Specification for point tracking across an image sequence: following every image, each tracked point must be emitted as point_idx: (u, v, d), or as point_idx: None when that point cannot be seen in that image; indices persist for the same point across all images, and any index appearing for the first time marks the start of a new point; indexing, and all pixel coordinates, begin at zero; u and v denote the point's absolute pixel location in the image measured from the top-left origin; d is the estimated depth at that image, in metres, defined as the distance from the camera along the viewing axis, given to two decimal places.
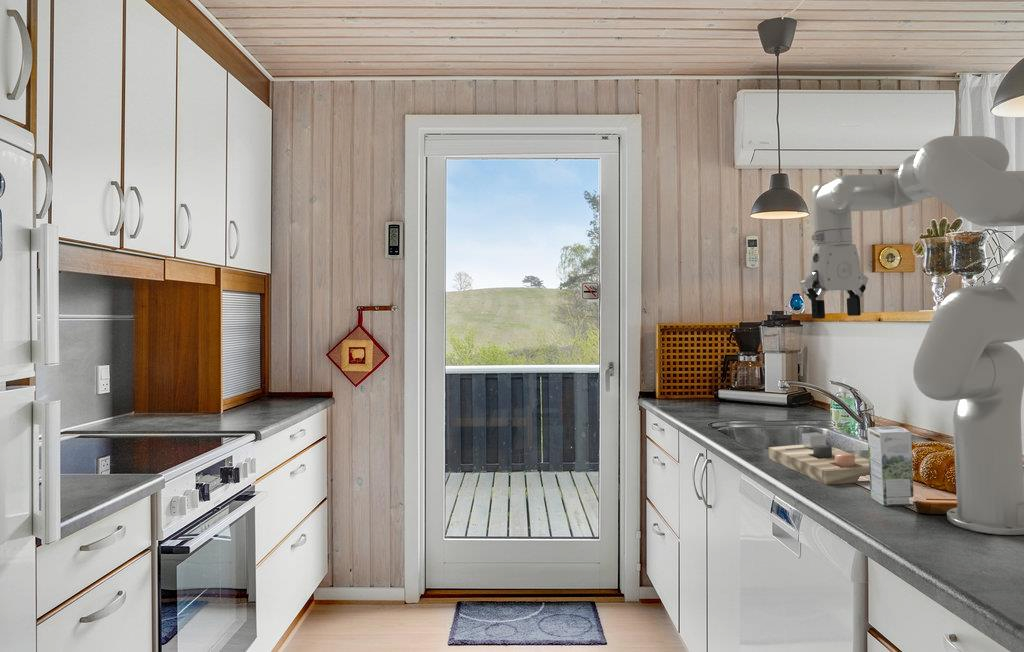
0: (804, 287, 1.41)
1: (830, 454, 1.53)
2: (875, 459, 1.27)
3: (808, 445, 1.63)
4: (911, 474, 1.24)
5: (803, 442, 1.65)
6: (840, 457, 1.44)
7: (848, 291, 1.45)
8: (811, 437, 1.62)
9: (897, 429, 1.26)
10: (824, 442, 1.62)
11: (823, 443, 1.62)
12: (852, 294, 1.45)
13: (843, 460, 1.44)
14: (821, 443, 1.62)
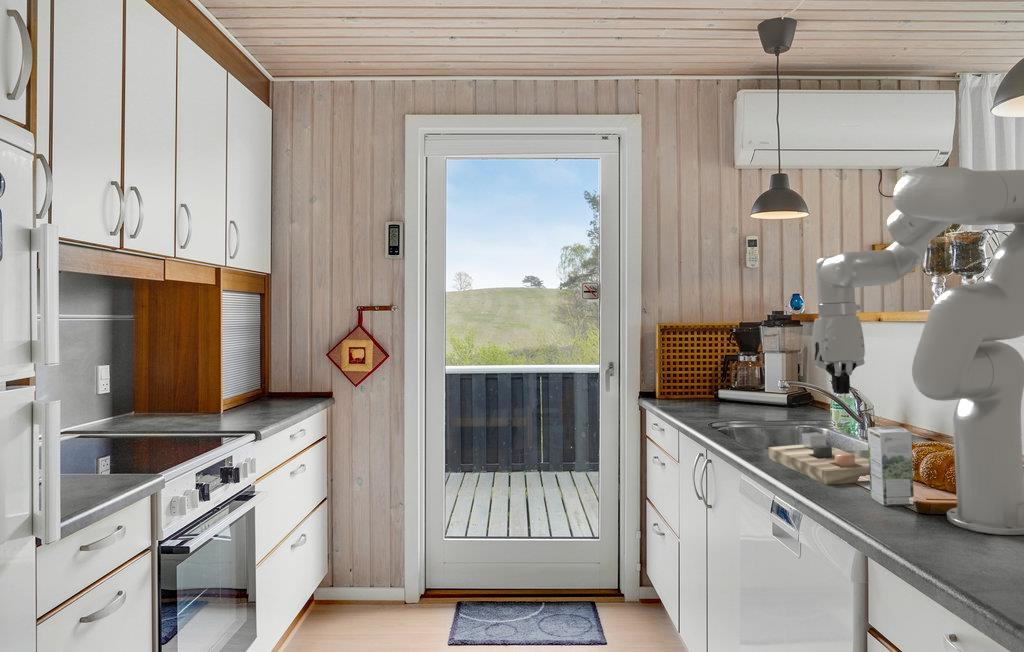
0: None
1: (830, 454, 1.53)
2: (875, 459, 1.27)
3: (808, 445, 1.63)
4: (911, 474, 1.24)
5: (803, 442, 1.65)
6: (840, 457, 1.44)
7: None
8: (811, 437, 1.62)
9: (897, 429, 1.26)
10: (824, 442, 1.62)
11: (823, 443, 1.62)
12: None
13: (843, 460, 1.44)
14: (821, 443, 1.62)
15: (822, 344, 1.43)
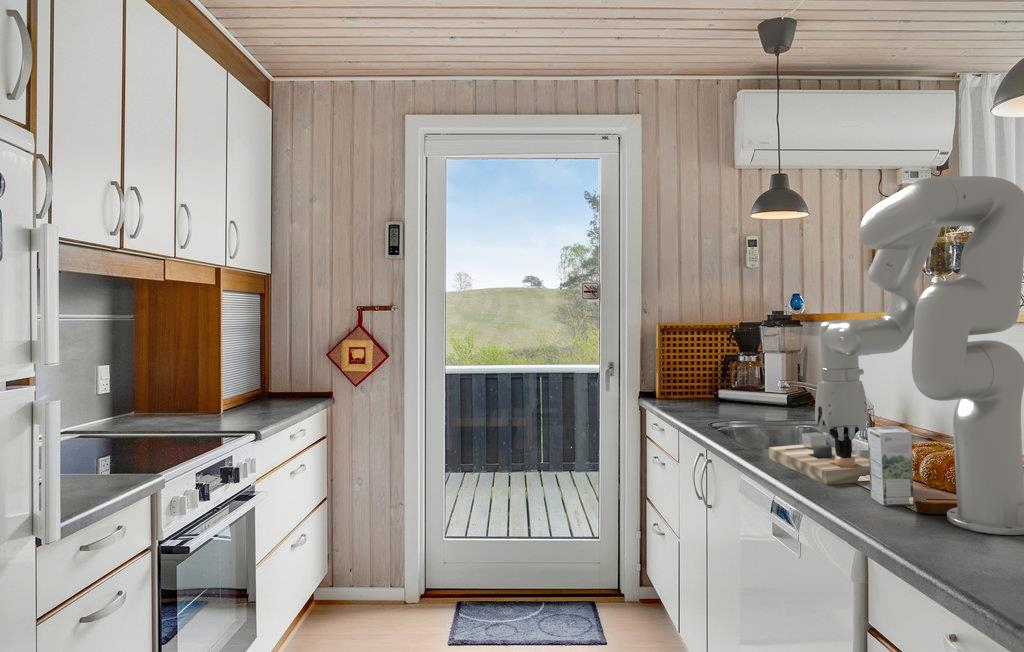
0: None
1: (830, 454, 1.53)
2: (875, 459, 1.27)
3: (808, 445, 1.63)
4: (911, 474, 1.24)
5: (803, 442, 1.65)
6: (840, 460, 1.44)
7: None
8: (811, 437, 1.62)
9: (897, 429, 1.26)
10: (824, 442, 1.62)
11: (823, 443, 1.62)
12: None
13: (843, 462, 1.44)
14: (821, 443, 1.62)
15: (825, 409, 1.43)
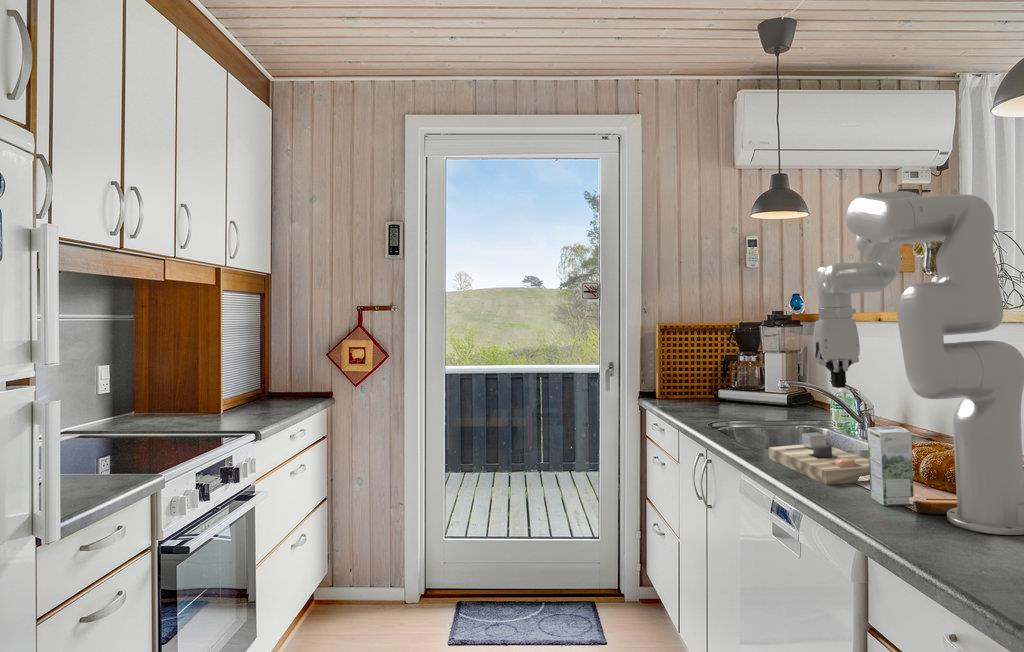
0: None
1: (830, 454, 1.53)
2: (875, 459, 1.27)
3: (808, 445, 1.63)
4: (911, 474, 1.24)
5: (803, 442, 1.65)
6: (840, 463, 1.44)
7: None
8: (811, 437, 1.62)
9: (897, 429, 1.26)
10: (824, 442, 1.62)
11: (823, 443, 1.62)
12: None
13: (843, 466, 1.44)
14: (821, 443, 1.62)
15: (822, 344, 1.61)
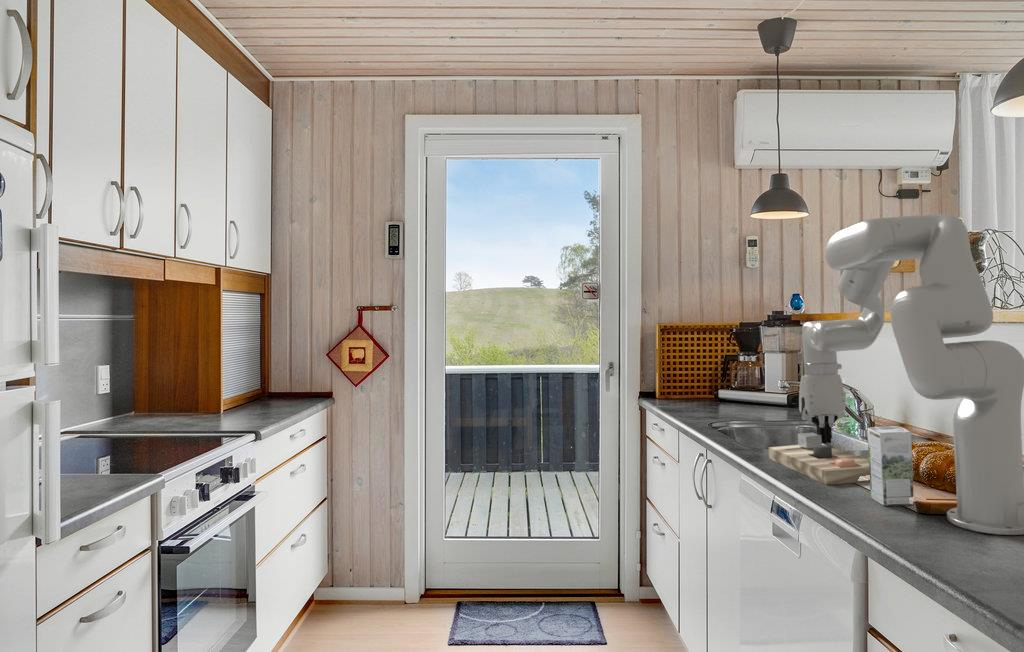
0: None
1: (830, 454, 1.53)
2: (875, 459, 1.27)
3: (804, 445, 1.63)
4: (911, 474, 1.24)
5: (799, 443, 1.65)
6: (840, 463, 1.44)
7: None
8: (807, 437, 1.62)
9: (897, 429, 1.26)
10: (820, 442, 1.62)
11: (819, 443, 1.62)
12: None
13: (843, 466, 1.44)
14: (817, 443, 1.62)
15: (807, 399, 1.62)
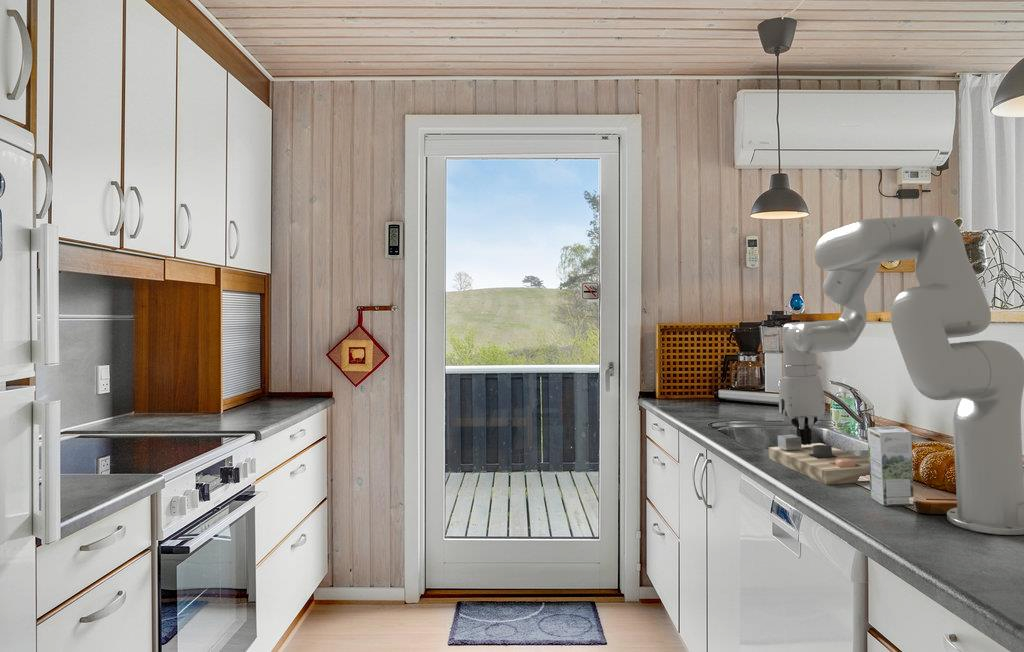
0: None
1: (830, 454, 1.53)
2: (875, 459, 1.27)
3: (783, 447, 1.62)
4: (911, 474, 1.24)
5: (779, 444, 1.64)
6: (840, 463, 1.44)
7: None
8: (786, 439, 1.61)
9: (897, 429, 1.26)
10: (799, 444, 1.61)
11: (798, 445, 1.61)
12: None
13: (843, 466, 1.44)
14: (796, 445, 1.61)
15: (787, 401, 1.61)
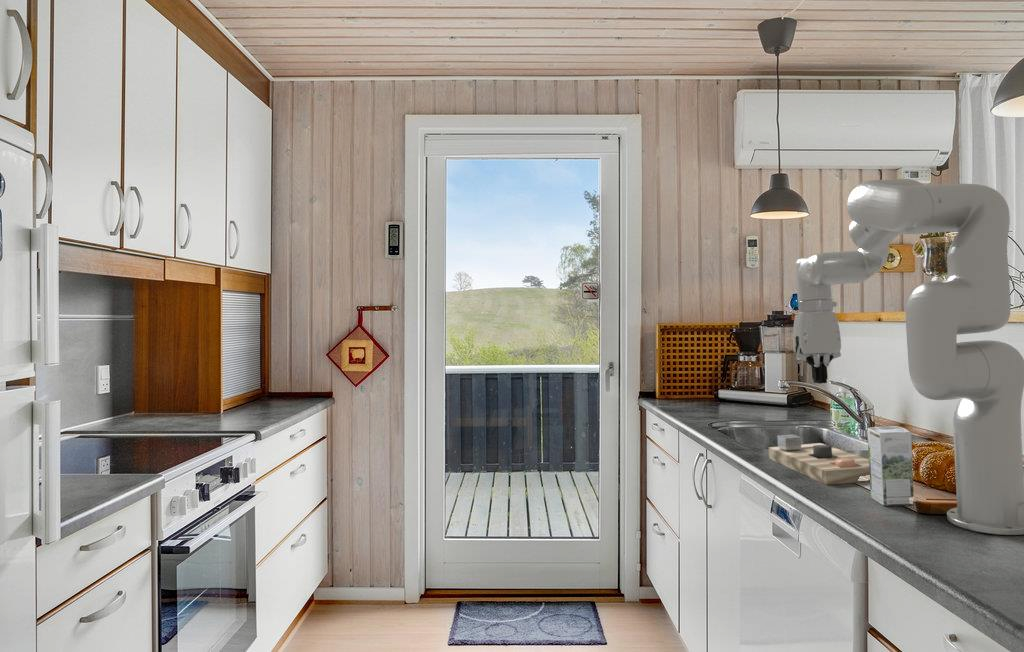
0: None
1: (830, 454, 1.53)
2: (875, 459, 1.27)
3: (783, 447, 1.62)
4: (911, 474, 1.24)
5: (779, 444, 1.64)
6: (840, 463, 1.44)
7: None
8: (786, 439, 1.61)
9: (897, 429, 1.26)
10: (799, 444, 1.61)
11: (798, 445, 1.61)
12: None
13: (843, 466, 1.44)
14: (796, 445, 1.61)
15: (801, 337, 1.56)
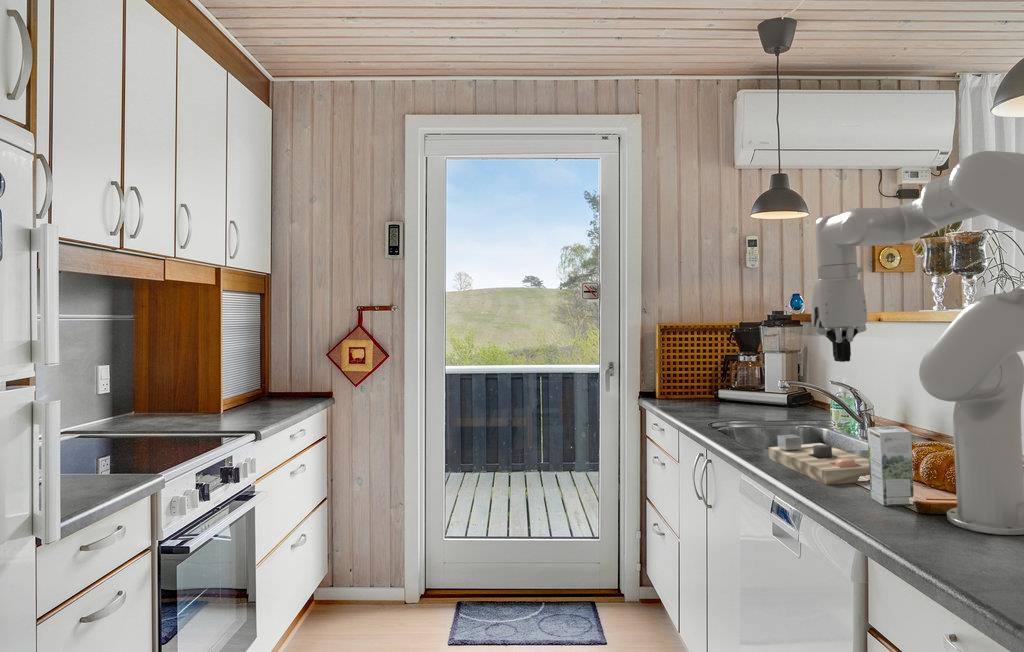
0: None
1: (830, 454, 1.53)
2: (875, 459, 1.27)
3: (783, 447, 1.62)
4: (911, 474, 1.24)
5: (779, 444, 1.64)
6: (840, 463, 1.44)
7: None
8: (786, 439, 1.61)
9: (897, 429, 1.26)
10: (799, 444, 1.61)
11: (798, 445, 1.61)
12: None
13: (843, 466, 1.44)
14: (796, 445, 1.61)
15: (822, 308, 1.35)
